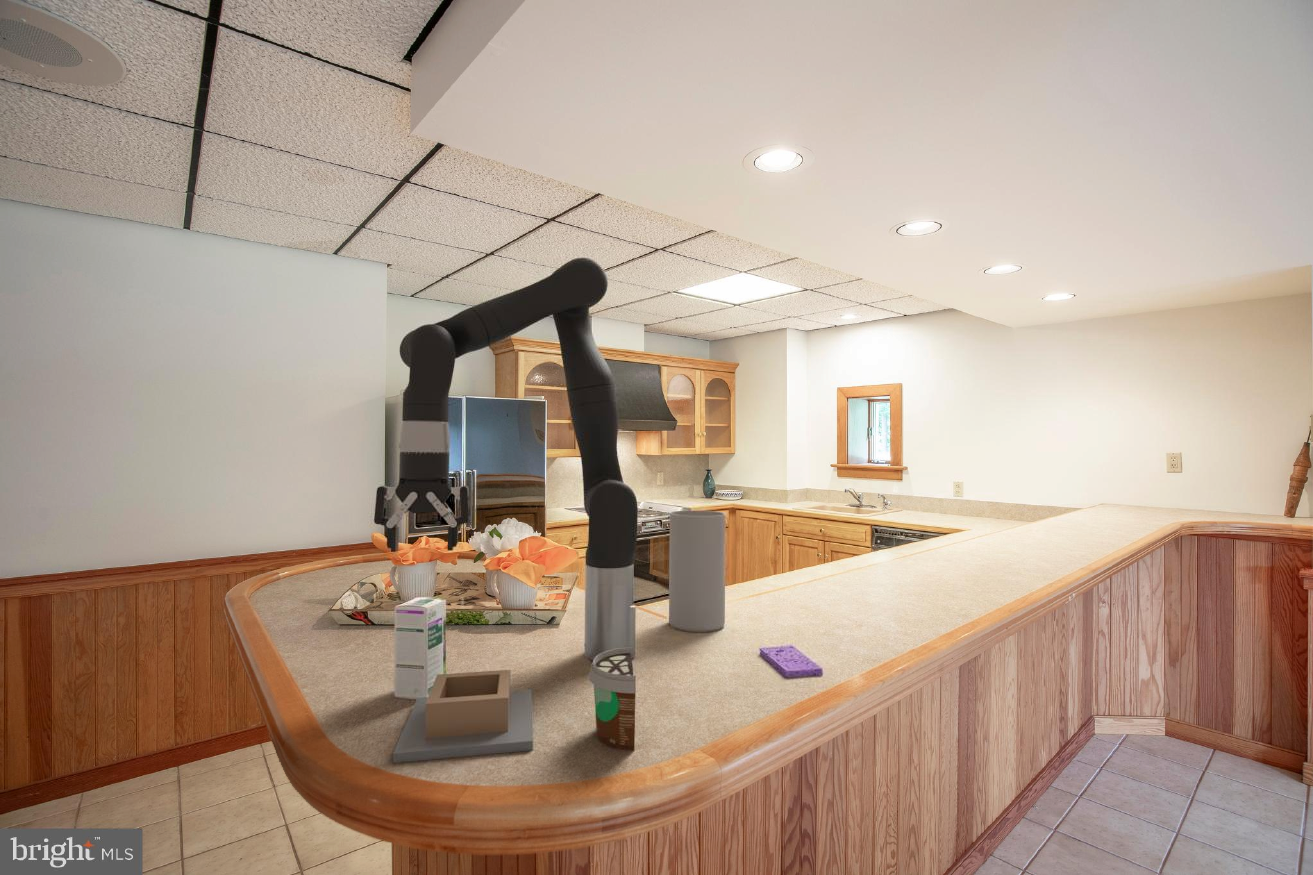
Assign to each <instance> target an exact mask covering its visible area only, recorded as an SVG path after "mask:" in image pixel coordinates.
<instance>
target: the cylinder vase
mask: <svg viewBox="0 0 1313 875" xmlns="http://www.w3.org/2000/svg"><path fill="white" fill-rule="evenodd" d="M726 515H727V514H726V512H721V511H715V510H714V511H713V510H677V511H676V510H675V511H671V512H669V560H668V561H669V566H668V568H669V570H668V571H669V573H668V575H669V576H668V579H669V582H668V585H669V586H668V590H669V591H668V592H669V593H668V594H669V596H668V623H669V624H670V626H671V627H672V628H674V629H676V630H679V631H683V632H690V633H710V632H714V631H715V632H716V631H718V630H720V629H722V628H723V627H724V626H725V623H726V527H727V526H726V523H727V522H726V520H727V519H726Z"/></svg>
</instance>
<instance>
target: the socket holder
mask: <svg viewBox="0 0 1313 875" xmlns="http://www.w3.org/2000/svg"><path fill="white" fill-rule="evenodd" d="M511 671H512V670H511V669H502V670H500V669H499V670H485V671H484V670H483V671H472V672H471V671H470V672H468V671H467V672H455V673H454V672H453V673H446V674H437V677H436V679H435V682H434V684H433V687H432V689H431V692H430V694H429V697H425V698H417V699H415V702H414V705H413V706H412V709H411V711H410V714H409V716H408V717H407V718H408V719H407V720H406V723H405V725H404V728H403V730H402V732H401V734H400V737H399V739H398V742H397V743H396V745H395V747H394V749H393V750H394V751H393V753H392V763H393V764H397V763H407V762H409V763H411V762H421V761H430V760H440V759H441V760H442V759H451V758H453V759H454V758H462V757H463V758H464V757H472V756H483V755H486V756H487V755H494V754H496V755H497V754H505V753H517V752H527V751H533V750H534V749H533V748H534V738H533V737H534V732H533V731H534V728H533V725H534V721H533V690H532V689H525V690H511Z"/></svg>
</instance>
